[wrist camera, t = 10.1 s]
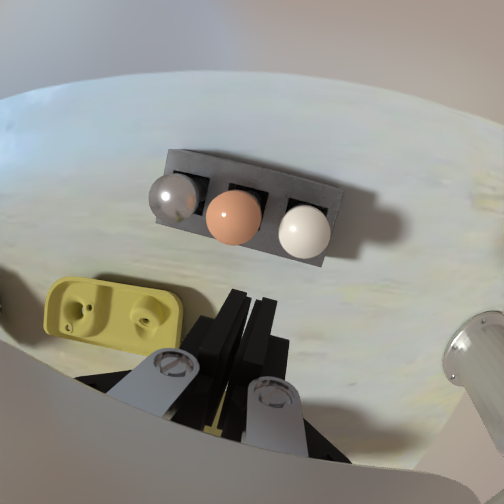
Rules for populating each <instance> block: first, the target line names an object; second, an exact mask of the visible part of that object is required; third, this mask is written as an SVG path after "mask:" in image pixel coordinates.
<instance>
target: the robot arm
mask: <svg viewBox="0 0 504 504" xmlns="http://www.w3.org/2000/svg"><path fill="white" fill-rule="evenodd" d="M246 296H247V293H246V292H243V291H239V290H236V289H232V290H231V292H230V293H229V295H228V297H227V299H226V301H225V302H224V304H223V306H222V308H221V309H220V311H219V313H218V315H217V317H216V318H215V319H212V318H209V317H205V316H200V317H199V319H198V320H197V322H196V323H195V325H194V326H193V328H192V329H191V331H190V332H189V334H188V335H187V337H186V338H185V340H184V341H183V343H182V344H181V346H180V347H179V349H176V348H162V349H159V350H156V351H155V352H153V353H151V354H150V355H149V356H148V357H147V358H146V359H145V360H143V361H142V362H141V363H140V364H139V365H138V366H137V367H136V368H134V369H133V370H127V371H120V372H113V373H105V374H97V375H89V376H80V377H76V378H72V377H70V376H68V375H66V374H64V373H62V372H60V371H58V370H57V369H55V368H53V367H51V366H49V365H48V364H46V363H44V362H42V361H40V360H38V359H36V358H35V357H33V356H31V355H29V354H27V353H26V352H24V351H22V350H20V349H19V348H17V347H15V346H13V345H11V344H9V343H7V342H5V341H2V340H0V504H481V502H480V501H479V499H478V497H477V496H476V495H475V494H474V492H473V491H472V490H471V489H469V488H468V487H467V486H465V485H463V484H461V483H459V482H457V481H455V480H452V479H449V478H446V477H443V476H440V475H436V474H431V473H426V472H421V471H414V470H407V469H395V468H384V467H375V466H366V465H356V464H352V463H351V462H350V460H349V459H348V458H347V457H346V456H345V455H343V454H342V453H341V452H340V451H339V450H338V449H337V448H336V447H334V446H333V445H332V444H331V443H330V442H329V441H328V440H327V439H326V438H325V437H323V436H322V435H321V434H320V433H319V432H318V431H317V430H316V429H315V428H314V427H313V426H312V425H311V424H309V423H308V422H307V421H306V420H305V419H304V418H303V415H302V408H301V401H300V396H299V393H298V391H297V390H296V389H295V387H294V386H293V385H291V384H290V383H289V382H287V381H285V375H286V367H287V358H288V350H289V340H287V339H284V338H280V337H276V336H272V335H270V333H271V328H272V324H273V319H274V315H275V310H276V305H277V301H276V300H272V299H268V298H265V297H263V298H262V301H261V300H257V299H256V301H255V304H254V307H253V309H252V312H251V315H250V318H249V320H248V323H247V326H246V328H245V331H244V327H245V323H246V319H247V315H248V311H249V307H250V303H251V298H250V297H246ZM243 331H244V334H243ZM242 335H243V337H242ZM241 338H242V339H241ZM443 370H444V373H445V375H446V377H447V379H448V380H449V381H450V382H451V383H452V384H454V385H457V386H463V387H465V389H466V391H467V393H468V395H469V396H470V398H471V400H472V402H473V404H474V405H475V407H476V409H477V411H478V413H479V415H480V417H481V419H482V421H483V423H484V425H485V427H486V429H487V430H488V433H489V435H490V437H491V439H492V440H493V443H494V444H495V447H496V449H497V450H498V452H499V453H500V454H501V455H502V456H503V457H504V315H503V314H502V313H499V312H494V311H489V312H485V313H482V314H479V315H477V316H475V317H473V318H472V319H470V320H469V321H467V322H466V323H465V324H464V325H462V327H461V328H460V329H459V330H458V331H457V332H456V333H455V334H454V336H453V337H452V338H451V340H450V342H449V344H448V345H447V348H446V350H445V353H444V357H443ZM228 381H229V382H228ZM227 384H228V386H227ZM226 387H227V390H226V393H225V397H224V401H223V405H222V409H221V413H220V417H219V421H218V425H217V429H219V430H222V433H221V437H219V436H216V435H212V434H209V433H206V432H203V430H204V428H205V425H206V426H209V427H212V424H213V422H214V419H215V416H216V414H217V411H218V408H219V406H220V403H221V400H222V397H223V395H224V392H225V389H226ZM484 504H504V489H503V490H501V491H500V492H499V493H498V494H496V495H495V496H493V497H492V498H491V499H489V500H488V501H487V502H485V503H484Z"/></svg>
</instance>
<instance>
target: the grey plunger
mask: <svg viewBox="0 0 504 504" xmlns="http://www.w3.org/2000/svg"><path fill="white" fill-rule="evenodd" d="M208 186H209V182H208V181H207V180H206V179H205V178H203V177H200V176H198V177H193V178H189V177H188V176H186V175H183V174H178V173H175V174H169V175H165V176H162V177H160V178H159V179H157V180H156V181H155V182H154V183H153V185H152V187H151V189H150V192H149V205H150V208H151V210H152V212H153V213H154V215H155V216H156V217H157V218H158V219H160V220H161V221H163V222H166V223H171V224H174V223H179V222H181V221H183V220H185V219H187V218H188V217H190V216H191V215H192V214H193V213H194V212H195V211H196V209H197V207H198V204H199V202H201V201H203V200H205V199H206V196H207V191H208Z"/></svg>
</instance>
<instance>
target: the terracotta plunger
mask: <svg viewBox="0 0 504 504" xmlns="http://www.w3.org/2000/svg"><path fill="white" fill-rule="evenodd" d="M261 219H262V213H261V199H260V197H259V195H258V194H257V193H255V192H254V191H251V190H245V191H242V190H229V191H226V192H224V193H222V194H220V195H218V196H217V197H216V198H214V199H213V200H212V202H211V203H210V205H209V206H208V209H207V212H206V223H207V226H208V229H209V231H210V233H211V234H212V235H213V236H214V237H215V238H216V239H217V240H218V241H220V242H222V243H224V244H227V245H240V244H243V243H246V242H247V241H249V240H250V239H251V238H252V237H253V236H254V235H255V234H256V232H257V230H258V228H259V226H260V223H261Z"/></svg>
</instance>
